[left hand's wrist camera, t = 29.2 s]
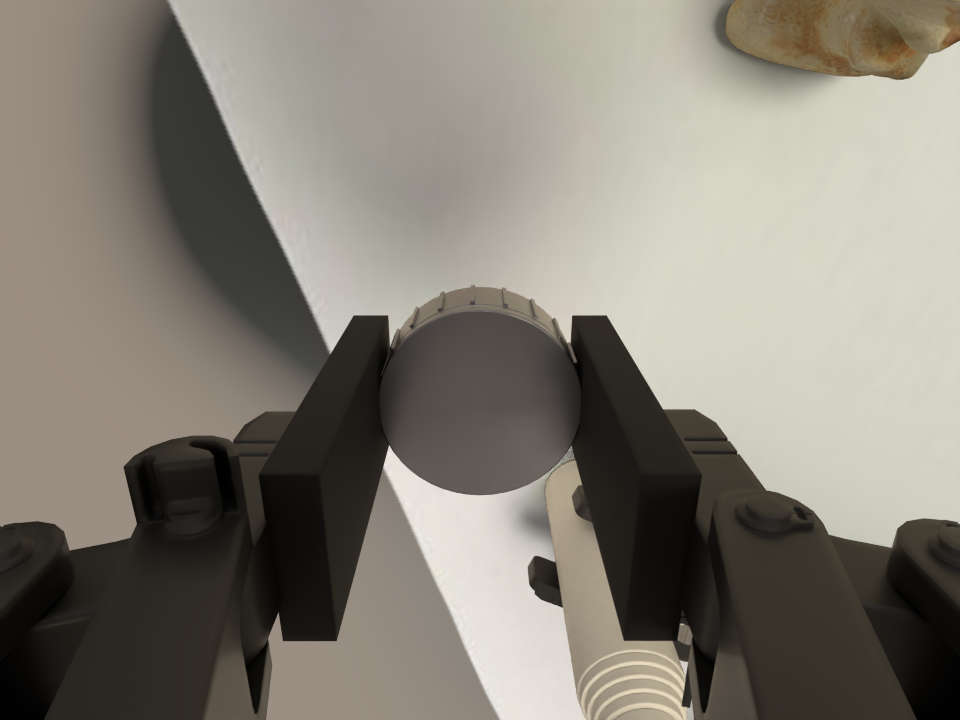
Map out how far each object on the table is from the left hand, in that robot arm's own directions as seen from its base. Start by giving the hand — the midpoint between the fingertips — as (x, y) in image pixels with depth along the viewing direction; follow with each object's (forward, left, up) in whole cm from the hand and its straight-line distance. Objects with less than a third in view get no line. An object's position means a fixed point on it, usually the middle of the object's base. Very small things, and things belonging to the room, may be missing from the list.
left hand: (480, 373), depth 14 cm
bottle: (+19, 0, -22) cm, 29 cm away
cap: (0, 0, +1) cm, 1 cm away
